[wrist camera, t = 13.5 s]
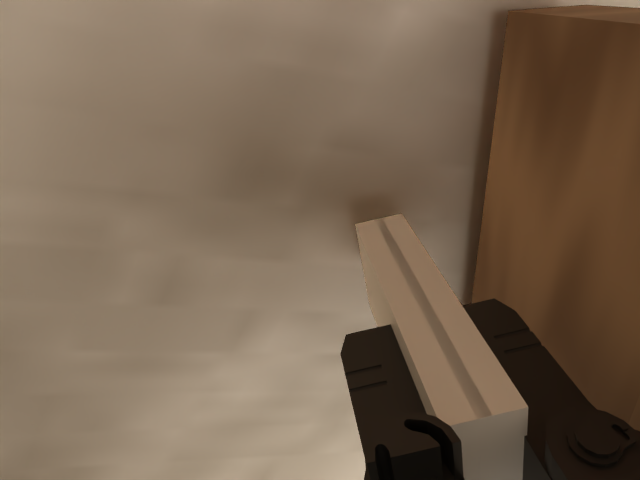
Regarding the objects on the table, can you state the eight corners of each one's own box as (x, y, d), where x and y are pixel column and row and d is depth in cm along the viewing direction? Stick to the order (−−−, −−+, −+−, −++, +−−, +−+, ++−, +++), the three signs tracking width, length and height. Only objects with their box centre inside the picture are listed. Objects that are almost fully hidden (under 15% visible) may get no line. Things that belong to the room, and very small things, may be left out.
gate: (507, 418, 19) (657, 672, 12) (452, 426, 19) (572, 690, 12) (591, 4, 11) (1117, 34, 4) (502, 11, 11) (906, 54, 4)
